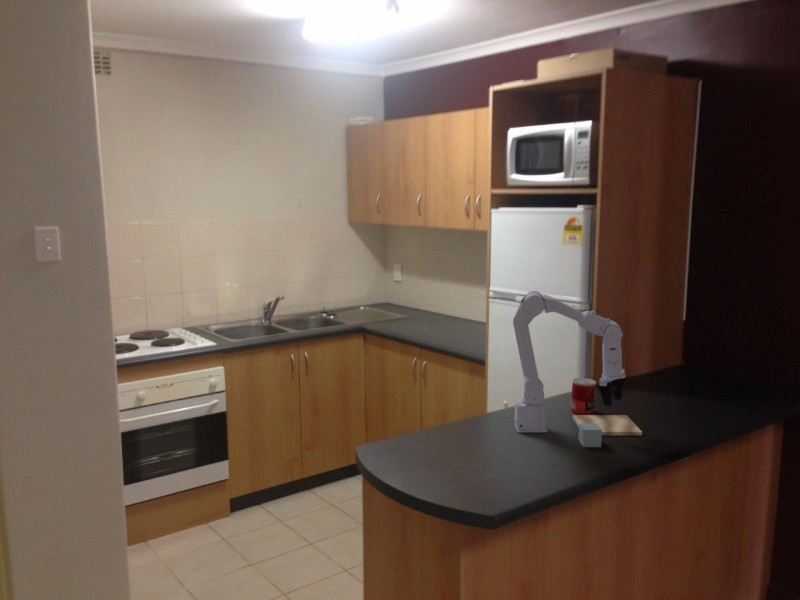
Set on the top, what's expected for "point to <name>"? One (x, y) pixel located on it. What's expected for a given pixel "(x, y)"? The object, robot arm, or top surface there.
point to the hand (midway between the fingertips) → (612, 402)
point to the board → (610, 424)
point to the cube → (590, 435)
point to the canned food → (583, 396)
